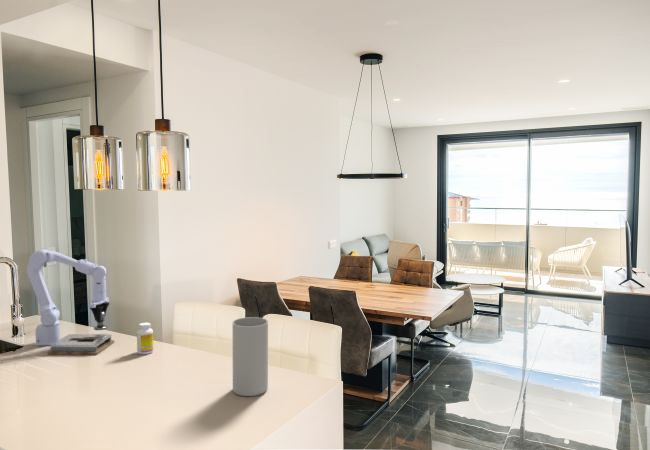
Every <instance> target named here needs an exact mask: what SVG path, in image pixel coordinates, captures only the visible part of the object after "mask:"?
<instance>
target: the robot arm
mask: <svg viewBox="0 0 650 450" xmlns="http://www.w3.org/2000/svg"><path fill="white" fill-rule="evenodd" d="M28 259H29V260H28V263H27V267H26V273H27V276H28V278H29V281H30V283H31V286H32V289H33V291H34V294H35V297H36V299H37V302H38V305H39V308H40V309H39V314H40V323H41V324H37V326H36V328H35V344H34V346H51V344H53V343H55V342H56V341H58V340H60V339H61V322H60V320H59V319H60V317H61V311H60V310H59V309H58V307H57V306H56V304H55V303H54V302H53V300H52V298H51V296H50V292H49V289H48V287H47V285H46V282H45V279H44V277H43V273H42V270H43V268H44V266H45V264H47V263H54V262H58V263H61V264H64V265H68V266H70V267H74V268H75V271H76V272H80V273H82V274H85V275H87V276H91V277H92V301H91V303H90V304H89V309H90V310H91V312H92V314H93V317H94V320H95V322H96V321H100V320H101V312H102V311H104V312H105V315H106V313H107V311H108V310H107V309H108V307H109V305H110V300H109V296H107V282H106V281H107V280H106V279H107V278H106V274H107V268H106V267H105V266H103V265H102V264H98V263H93V262H92V261H91V262H90V261H88V259H86V258H84V259H79V260H77V259H75V258H73V257H70V256H67V255H65V254H62V253H61V252H59V251H55V250H53V249H51V250H50V249H48V248H40V249H39V250H36V251H33V253H32V254H31V255H30V256H29V258H28Z"/></svg>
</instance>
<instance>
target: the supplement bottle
mask: <svg viewBox="0 0 650 450" xmlns="http://www.w3.org/2000/svg"><path fill="white" fill-rule="evenodd" d="M138 324H139V326H138V328H139V329H137V331H136V343H137V344H136V347H137V348H136V351H137V354H139V355H149V354H151V353H153V352H154V331H153V329H152V328H151V326H152V325H151V322H140V323H138Z"/></svg>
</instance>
